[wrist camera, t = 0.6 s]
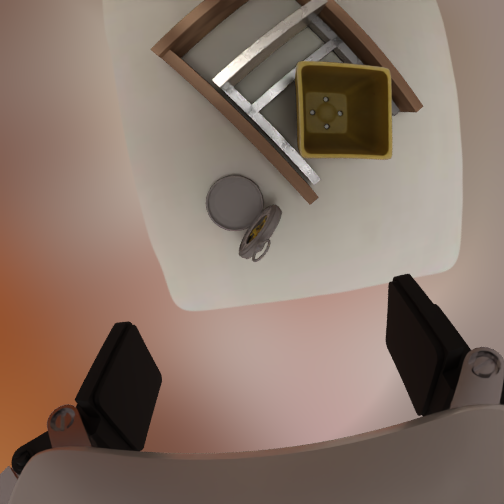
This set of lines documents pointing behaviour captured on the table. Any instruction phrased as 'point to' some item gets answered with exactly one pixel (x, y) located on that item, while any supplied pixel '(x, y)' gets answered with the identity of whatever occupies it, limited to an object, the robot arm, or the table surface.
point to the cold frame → (175, 47)
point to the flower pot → (343, 110)
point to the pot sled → (268, 46)
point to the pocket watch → (243, 213)
